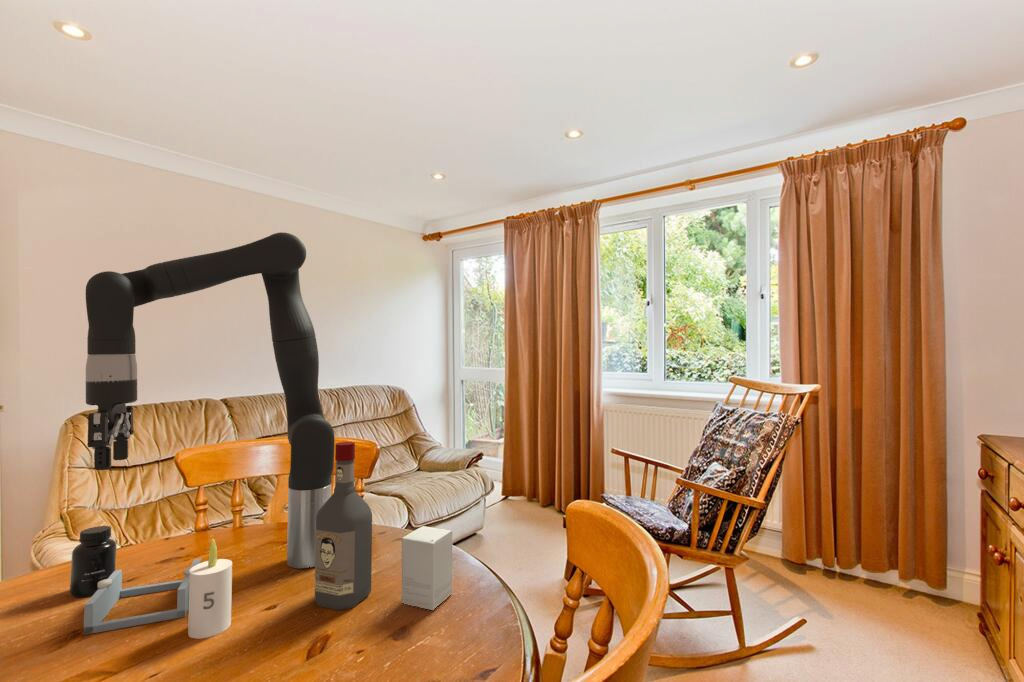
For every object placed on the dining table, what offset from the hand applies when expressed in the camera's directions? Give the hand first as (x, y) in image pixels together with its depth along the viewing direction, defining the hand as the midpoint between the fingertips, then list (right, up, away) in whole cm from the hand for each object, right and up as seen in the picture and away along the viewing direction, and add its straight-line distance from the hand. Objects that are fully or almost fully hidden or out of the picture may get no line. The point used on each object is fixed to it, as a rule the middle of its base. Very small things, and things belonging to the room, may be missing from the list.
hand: (112, 464), depth 90 cm
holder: (+7, -27, 0) cm, 28 cm away
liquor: (+43, -27, +3) cm, 51 cm away
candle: (+23, -27, -7) cm, 36 cm away
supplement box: (+59, -27, +3) cm, 65 cm away
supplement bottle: (-9, -27, +6) cm, 29 cm away
